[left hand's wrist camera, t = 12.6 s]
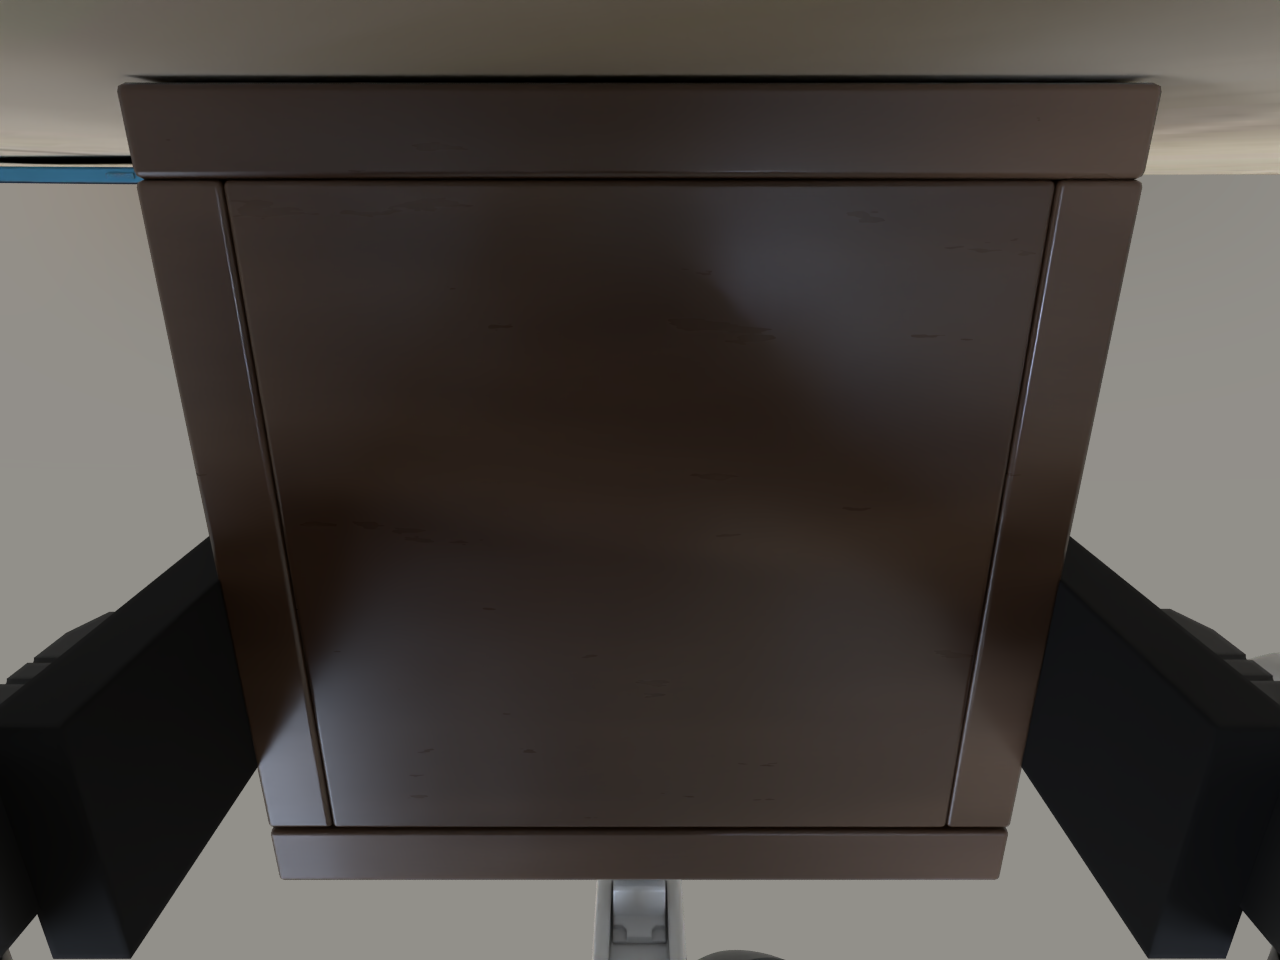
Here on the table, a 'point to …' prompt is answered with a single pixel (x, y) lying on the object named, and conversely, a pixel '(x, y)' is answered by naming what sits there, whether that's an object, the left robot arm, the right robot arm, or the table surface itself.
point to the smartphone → (69, 175)
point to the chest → (639, 433)
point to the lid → (639, 853)
